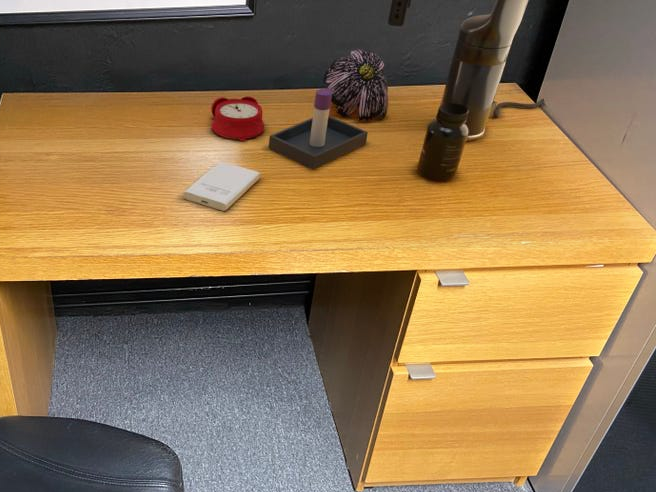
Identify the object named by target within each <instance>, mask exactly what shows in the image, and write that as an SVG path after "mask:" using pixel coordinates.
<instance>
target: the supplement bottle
mask: <svg viewBox="0 0 656 492" xmlns="http://www.w3.org/2000/svg"><path fill="white" fill-rule="evenodd" d="M467 115H468V108H466V107H465V106H463V105H460V104H456V103H445V104H442V105H441V106H440V105H439V107H438V110H437V112H436V115H435V118H434V119H433V120H431V121H430V122H429V123H428V125H427V128H426V131H425V135H424V139H423V143H422V147H421V151H420V154H419V158H418V162H417V167H416V171H417V173H418V174H419V176H421V177H422V178H424V179H426V180H429V181H433V182H447V181H450V180H452V179H453V178H454V177H455V176H456V174H457V171H458V168H459V165H460V162H461V159H462V156H463V152H464V149H465V146H466V143H467V141H466V140H467V136H468V127H467V125H466V124H465V122H466V120H467Z"/></svg>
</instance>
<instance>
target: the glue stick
mask: <svg viewBox="0 0 656 492" xmlns="http://www.w3.org/2000/svg"><path fill="white" fill-rule="evenodd" d="M331 98H332V91H330V90H328V89H326V88H318V89H317V90H316V91H315V97H314V104H313V107H314V108H313V112H312V113H313V115H312V118H313V121H312V128H311V135H310V143H309V144H310V145H311V146H313V147H322V146H324V143H325V136H326V130H327V123H328V116H330V109H331V106H332V105H331V104H332V102H331Z"/></svg>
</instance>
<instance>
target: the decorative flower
mask: <svg viewBox="0 0 656 492" xmlns="http://www.w3.org/2000/svg"><path fill="white" fill-rule="evenodd" d="M384 68H385V63H384V61H383V60H382V58H381V57H380V56H379V55H378V54H377V53H376V52H374V51H372V50H369V49H364V48H363V49H362V48H361V49H359V48H358V49H355V50H352V51H351V50H350V52H349V55H345V56H341V57H339V58H336V59H335V60H334V61H332V63H331V64H330V67H328V68H327V70H326V71H325V72H324V76H323V84H326V85H328V86H327V87H326V88H325V89H328V90H330V91H332V98H331V104H333V105H334V106H335V107H336V110H337V111H336V114H338V115H339V116H340V117H342V118H347V117H349V116H351V115H352V114H353V113H355V111H356V110H358V111H357V117H358V122H361V121H363V120H364V121H367V122H369V121H372V120H373V119H374V118H375V119H376V118H379V117H380V120H383V119H385V117H386V116H387V113H388V108H389V94H388V92H389V84H388V78H387V76H386V74H385V72H384V70H383V69H384Z"/></svg>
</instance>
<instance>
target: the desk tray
mask: <svg viewBox="0 0 656 492" xmlns="http://www.w3.org/2000/svg"><path fill="white" fill-rule="evenodd" d="M312 121H313V117H311V118H308V119H306V120H303V121H301V122H299V123H297V124H294V125H291V126H290V127H287V128H285V129H281V130H280V131H278V132H275V133H273V134H271V135H269V138H268V149H269V150H271V151H274V152H275V153H277V154H280V155H282V156H284V157H286V158H288V159H290V160H293V161H294V162H297V163H299V164H300V165H303V166H305V167H307V168H309V169H311V170H315V169H318V168H320V167H321V166H323V165H325V164H327V163H330V162H332V161H334V160H336V159H338V158H340V157H342V156H345V155H347V154H348V153H350V152H353V151H355V150H357V149H359V148H362V147H363V146H366V144H367V139H368V135H369V132H368V131H367V130H364V129H362V128H359V127H357V126H354V125H352V124H349V123H347V122H345V121H342V120H340V119H337V118H335V117H332V116H330V115H329V116H328V123H327V130H326V136H325V143H324V146H322V147H313V146H311V145H310V144H309V143H310V135H311V128H312Z"/></svg>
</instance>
